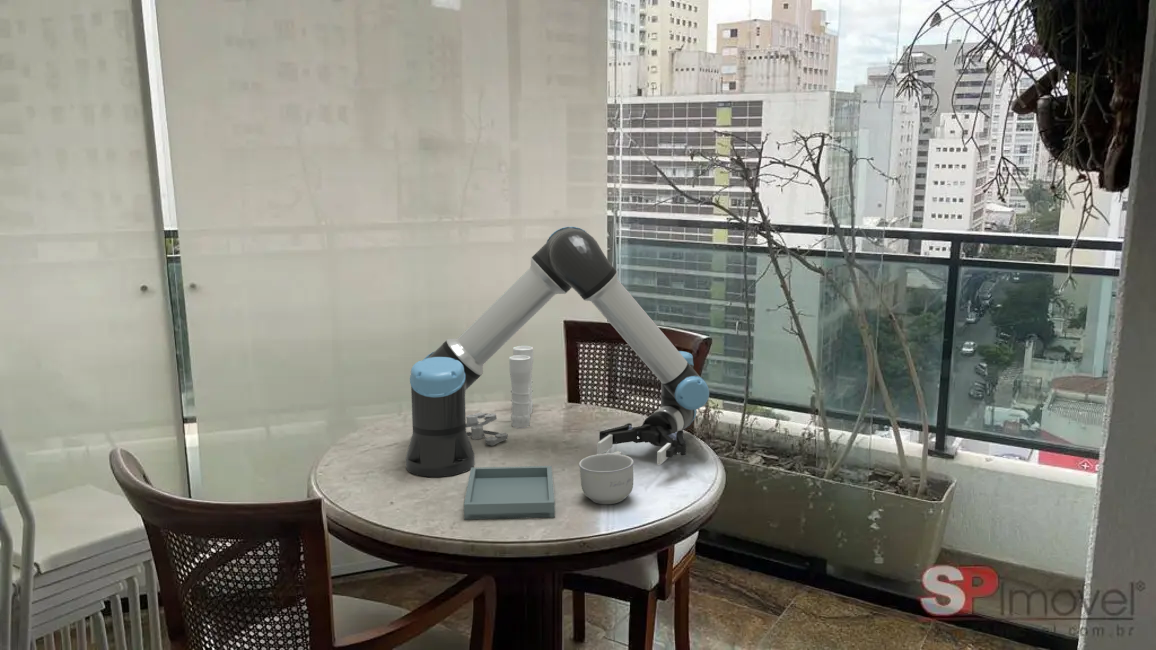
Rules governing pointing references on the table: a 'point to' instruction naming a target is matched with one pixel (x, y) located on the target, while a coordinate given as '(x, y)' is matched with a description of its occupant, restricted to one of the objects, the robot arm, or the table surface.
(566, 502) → the table surface
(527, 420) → the binoculars
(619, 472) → the teacup
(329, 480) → the table surface
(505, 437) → the pulley system
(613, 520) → the table surface
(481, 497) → the tray
